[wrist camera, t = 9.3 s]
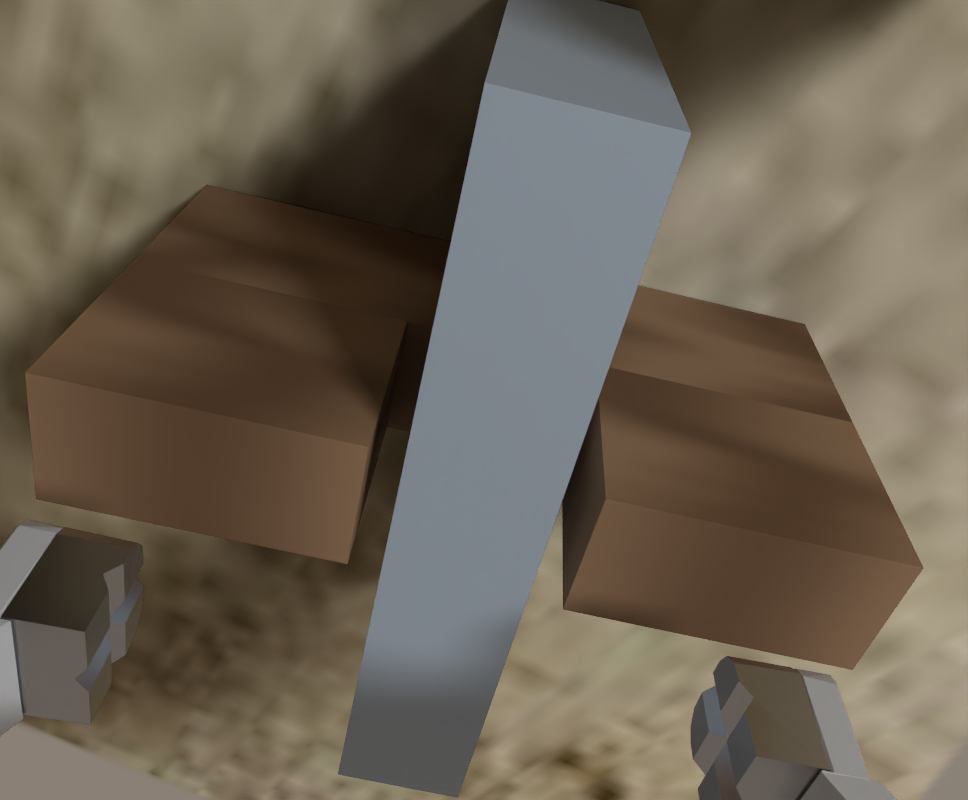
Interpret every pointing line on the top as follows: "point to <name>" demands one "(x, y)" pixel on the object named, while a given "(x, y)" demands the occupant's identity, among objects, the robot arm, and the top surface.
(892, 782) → the top surface
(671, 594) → the walnut board
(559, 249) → the slate board
